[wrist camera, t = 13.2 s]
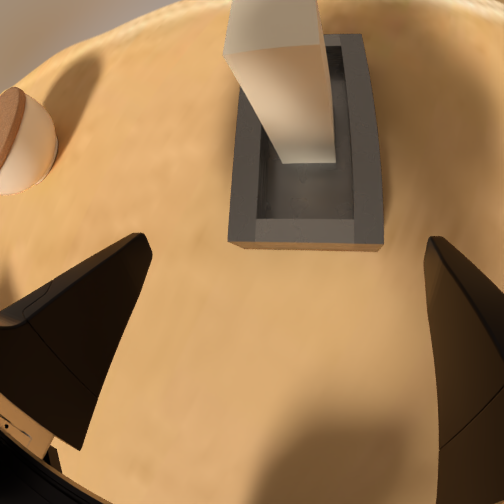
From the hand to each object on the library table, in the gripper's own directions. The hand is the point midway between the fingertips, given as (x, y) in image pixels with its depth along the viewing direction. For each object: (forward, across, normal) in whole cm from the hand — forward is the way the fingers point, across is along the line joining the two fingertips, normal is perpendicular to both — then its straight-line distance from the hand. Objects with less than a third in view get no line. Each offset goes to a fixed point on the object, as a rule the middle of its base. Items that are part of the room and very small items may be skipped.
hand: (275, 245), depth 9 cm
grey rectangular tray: (+12, 0, +1) cm, 12 cm away
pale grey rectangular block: (+12, 0, 0) cm, 12 cm away
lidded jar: (+14, +28, -1) cm, 32 cm away
